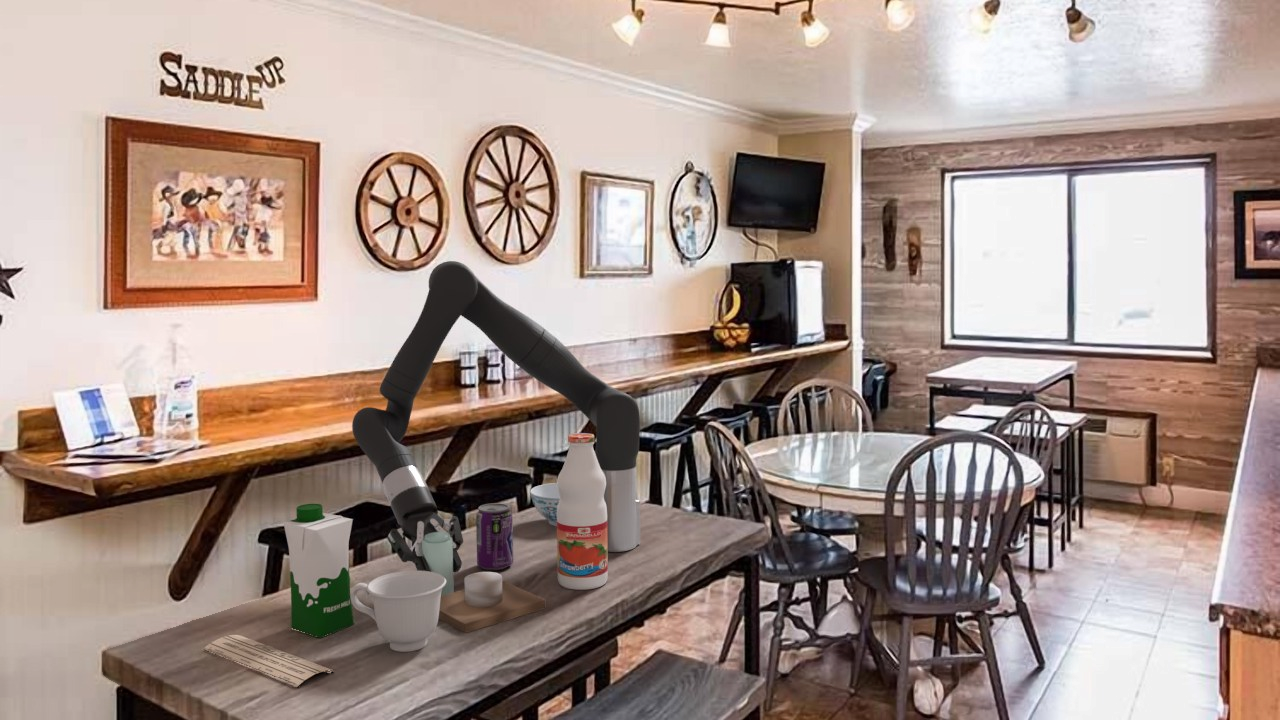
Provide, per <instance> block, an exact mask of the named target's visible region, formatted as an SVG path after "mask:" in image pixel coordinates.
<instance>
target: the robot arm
mask: <svg viewBox="0 0 1280 720" xmlns="http://www.w3.org/2000/svg"><path fill="white" fill-rule="evenodd" d="M425 299H426V300H425V302H424V305H423V308H422V311H421V312H420V315H419V317H418V319H417V321H416V323H415V325H414V326H413V328H412V330H411V332H410V334H409V335H408V336H407V338H406V340H405V341H404V343H403V344H402V345H401V347H400V349H399V350H398V352H397V354H396V355H395V357H394V358H393V361H392V362H391V365H390V366H389V368H388V370H387V372H386V374H385V376H384V378H383V380H382V381H381V383H380V385H379V392H380V394H381V395H382V397H384V398H385V399H386V400H387V405H386V408H385V410H384V409H381V408H377V407H372V406H370V407H369V406H367V407H364V408H361V409H359V410H358V411H357V412H356V413H355V415H354V417H353V419H352V425H351V427H352V428H351V430H352V433H353V437H354V439H355V441H356V443H357V444H358V446H359V448H360V449H361V450H362V452H363V453H364V454H365V455H366V457H367V458H368V459H369V460H370V462H371V463H372V464H373V465H374V466H375V468H376V471H377V473H378V477H379V479H380V481H381V483H382V485H383V488H384V492H385V496H386V498H387V501H388V503H389V505H390V509H391V510H392V512H393V515H394V517H395V519H396V521H397V524H398V525H399V528H392V529H391V530H390V532H389V533H388V535H387V537H386V539H387V541H388V543H389V544H390V545H391V547H392V549H393V550H394V551H395V553H396V555H397V556H398V557H399V559H400V560H401V562H403V563H407V562H412V563H413V564H414V566H415V568H416V571H429V572H431V570H430V568H429V565H428V563H427V561H426V559H425V557H424V556H422V554H423V550H422V540H423V539H424V538H425V535H426V534H429V533H434V532H446V533H449V535H450V537H452V540H453V574H454V573H459V571H460V570H461V568H462V565H463V561H462V559H461V557H460V554H459V553H458V550H460V548H461V546H462V545H463V543H464V537H463V533H462V529H461V526H460V522H459V517H458V516H456V515H453V516H451V518H444V517H443V516H441V515H440V513H439V512H438V507H437V504H436V502H435V500H434V498H433V495H432V493H431V490H430V489H429V487H428V484H427V483H426V480H425V478H424V476H423V475H422V473H421V472H420V470H419V468H418V465H417V464H416V462H415V459H414V457H413V455H412V453H411V451H410V450H409V448H407V447H406V446H405V445H404V444H401V443H400V442H401V441H402V440H403V438H404V437H405V435H406V433H407V431H408V428H409V424H410V420H411V416H412V415H411V414H412V411H413V407H414V402H415V398H416V397H417V395H418V393H419V391H420V389H421V387H422V386H423V383H424V381H425V379H426V377H427V375H428V373H429V371H430V370H431V367H432V366H433V363H434V362H435V361H434V360H435V359H436V357H437V355H438V353H439V351H440V349H441V347H442V345H443V343H444V341H445V340H446V338H447V336H448V335H449V333H450V331H451V329H452V328H453V326H455V324H456V322H457V321H458V320H459V318H460V317H462V318H464V319H466V320H467V321H468V322H470V323H472V325H475V326H476V327H477V328H478V329H479V330H480V331H481V332H482V333H483V334H484V335H485V336H486V337H487V338H488V339H489V340H490V341H491V342H492V343H493V344H494V345H495V347H497V348H498V349H499V350H500V351H501V353H503V354H504V355H505V356H506V357H507V358H508V359H509V360H511V361H512V362H513V363H514V364H516V365H517V366H518V367H519V368H520V369H521V370H523V371H524V372H525V373H527V374H528V375H529V376H531V377H532V378H534V379H536V381H538V382H540V384H543V385H544V386H546V387H548V388H550V389H551V390H553V391H555V392H557V393H559V394H561V395H562V396H564V398H566V399H567V400H568V401H569V402H571V404H573V406H575V407H576V409H578V410H579V411H580V412H581V413H582V414H584V416H585V417H586V418H587V419H588V420H589V421H590V422H591V423H592V424H593V426H595V427H596V433H595V434H596V441H595V450H594V451H595V454H596V457H597V460H598V463H599V465H600V468H601V469H602V471H603V473H604V474H605V477H606V489H605V492H604V500H605V503H606V506H607V552H610V553H611V552H613V553H616V552H617V553H619V552H626V551H630V550H634V549H635V548H636V547H637V546H638V544H639V545H640V544H641V501H640V500H639V499H637V458H638V455H639V451H640V433H641V430H640V429H641V426H640V425H641V422H640V421H641V419H640V418H641V416H640V409H639V406H638V403H637V401H636V400H635V399H634V397H633V396H631V395H630V394H627V393H625V392H623V391H621V390H619V389H617V388H615V387H614V386H611V385H609V384H608V383H606V382H605V381H603V380H601V379H600V378H599V377H597V376H596V375H594V374H593V373H592V372H590V371H589V370H588V369H587V368H585V367H584V365H582V364H581V363H580V361H579V360H578V358H577V357H576V356H575V355H574V354H573V353H572V352H571V351H570V350H569V348H567V347H566V346H565V345H564V344H563V343H562V342H561V341H560V340H559V339H558V338H557V337H556V336H554V335H553V334H552V333H550V332H549V331H548V330H546V329H545V328H544V327H543V326H542V325H541V324H539V323H538V322H536V321H535V320H533V319H532V318H530V317H529V316H527V315H526V314H524V313H523V312H521V311H520V310H519V309H516V308H514V307H513V306H511V305H510V304H508V303H507V302H505V301H503V299H501V298H500V297H499V296H497V295H496V294H495V293H493V292H492V291H491V289H489V288H488V286H486V285H485V284H484V283H483V282H482V281H481V280H480V279H479V278H478V277H477V276H476V275H475V273H474V272H473V271H472V270H471V269H470V267H468V266H467V265H466V264H464V263H462V262H460V261H456V260H453V261H452V260H449V261H444V262H442V263H441V262H440V263H439V264H438V265H436V266H435V267H434V268H433V269H432V271H431V272H430V274H429V278H428V293H427V295H426V298H425ZM444 527H445V529H446V530H445V529H444ZM404 537H405V538H406V539H407V540H409V541H410V547H409V545H408V543H407V542H406V541H405V539H404Z"/></svg>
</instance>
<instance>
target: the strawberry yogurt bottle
mask: <svg viewBox="0 0 1280 720" xmlns="http://www.w3.org/2000/svg"><path fill="white" fill-rule="evenodd" d="M567 442H568V443H567V444H568V445H569V447H568V452H567V454H566V457H565V461H564V464H563V466H562V469H561V470H560V472H559V473H558V476H557V480H556V481H557V482H556V483H557V487H558V491H559V495H560V501H559V503H558V506H557V526H556V541H557V542H556V549H557V550H556V552H557V553H556V554H557V555H556V556H557V560H556V561H557V566H556V567H557V580H558V584H559V585H560V586H561V587H563V588H566V589H568V590H569V589H570V590H575V591H578V590H579V591H582V590H585V591H586V590H592V589H598V588H600V587H602V586H605V584H606V583H607V581H608V576H609V575H608V571H609V570H608V569H609V566H608V565H609V563H608V561H609V560H608V556H609V554H608V551H607V506H606V503H605V500H604V492H605V489H606V477H605V474H604V473H603V471H602V469H601V468H600V465H599V463H598V460H597V457H596V454H595V450H594V444H595V442H596V441H595V435H594V434H593V433H588V432H587V433H586V432H578V433H577V432H576V433H571V434H569V435H568V436H567Z"/></svg>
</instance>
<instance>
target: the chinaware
mask: <svg viewBox="0 0 1280 720" xmlns="http://www.w3.org/2000/svg"><path fill="white" fill-rule="evenodd" d="M529 492H530V497H531V500H532V503H533V505H534V507H535V509H536V511H537V512H538V513H539V514H540V515H541V516H542V517H543V518H545V519H547V521H548V524H549V525H551V526H555V527H557V506H558V503H559V501H560V495H559V491H558V487H557V482H551V483H543V484H541V485H537V486H534V487H532V488H531V489H530V491H529Z"/></svg>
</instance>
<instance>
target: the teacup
mask: <svg viewBox="0 0 1280 720" xmlns="http://www.w3.org/2000/svg"><path fill="white" fill-rule="evenodd" d="M445 584H446V579H445V578H444V577H443V576H442V575H440V574H438V573H434V572H429V571H418V570H405V571H402V570H401V571H397V572H391V573H387V574H384V575H381V576H379V577H377V578H374V579H372V580H371V581H370V582H369V583H368V584H367V583H365V582H357V583H356V584H355V585H353V587H352V588H351V589H350V599H351V604H352V607H354V608H355V610H357V611H359V612H360V613H363V614H366V615H368V616H370V617H371V618H373V620H375V623H376V626H377V629H378V632H379V633H380V635H381V636H382V638H384V640H387V641H389V643H390V644H389V648H390V649H391V650H392V651H395V652H399V653H400V652H401V653H402V652H403V653H406V652H407V653H408V652H415V651H417V650H419V651H420V650H421V649H423V648H424V647H426V646H427V644H428V637H430V636H431V635H432V634H433V633H434V632H435V631H436V628H437V626H438V622H439V618H438V617H439V609H440V598H441V591H442V588H443V586H444V585H445ZM358 591H363V592H364V593H365V597H366V598H367V599H370V598H371V599H372V604H373V608H370V606H366V605H364V604H363V603H361V601H360V600H359V599H358V596H357V593H358Z"/></svg>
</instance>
